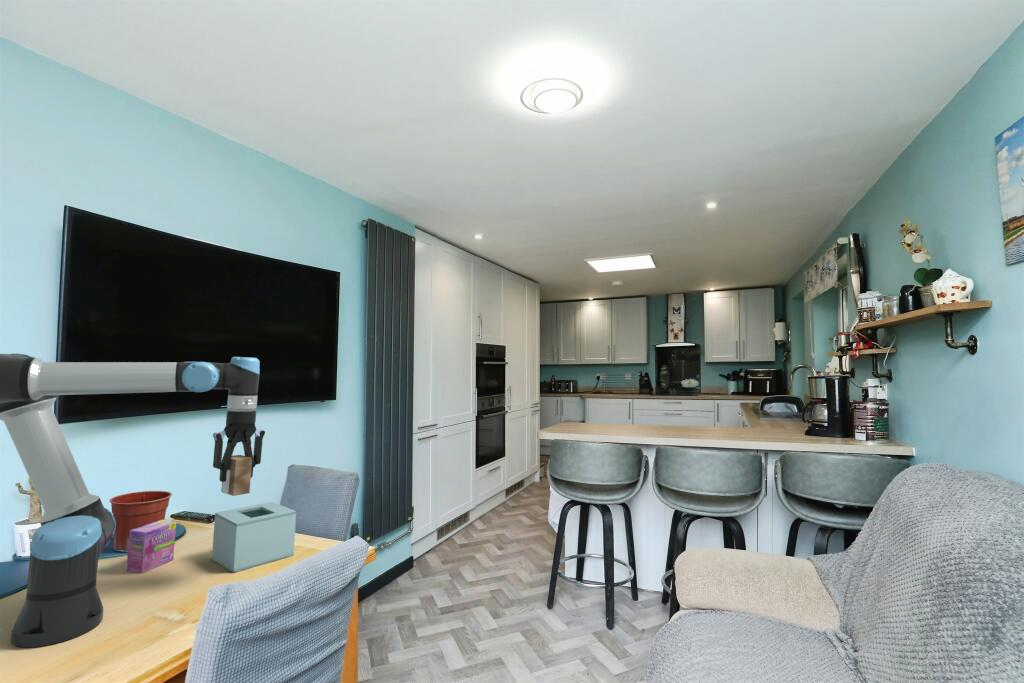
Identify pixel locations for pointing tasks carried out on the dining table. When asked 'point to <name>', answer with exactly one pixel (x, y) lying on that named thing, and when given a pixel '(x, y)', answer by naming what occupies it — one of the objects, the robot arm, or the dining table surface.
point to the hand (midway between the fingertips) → (235, 491)
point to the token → (239, 475)
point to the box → (151, 546)
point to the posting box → (253, 536)
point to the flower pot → (136, 513)
